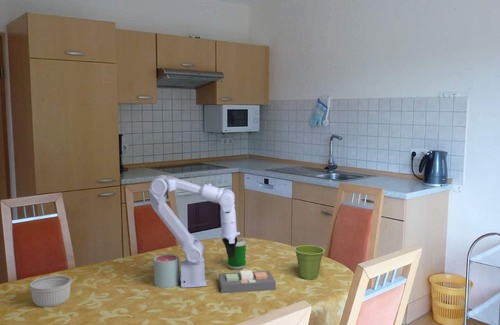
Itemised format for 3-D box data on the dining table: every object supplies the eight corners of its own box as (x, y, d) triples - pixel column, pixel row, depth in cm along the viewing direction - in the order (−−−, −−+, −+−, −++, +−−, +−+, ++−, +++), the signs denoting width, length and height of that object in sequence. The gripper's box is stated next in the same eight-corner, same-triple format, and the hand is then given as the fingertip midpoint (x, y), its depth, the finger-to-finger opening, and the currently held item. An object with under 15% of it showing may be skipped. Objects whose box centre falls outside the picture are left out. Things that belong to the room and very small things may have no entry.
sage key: (226, 287, 170) (226, 278, 169) (225, 283, 174) (225, 274, 174) (238, 286, 170) (238, 277, 170) (237, 282, 175) (237, 273, 174)
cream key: (241, 284, 171) (241, 274, 170) (240, 279, 175) (239, 270, 174) (253, 283, 171) (253, 274, 171) (251, 279, 176) (251, 270, 175)
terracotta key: (256, 285, 172) (256, 276, 171) (254, 281, 176) (254, 272, 175) (267, 284, 172) (267, 275, 172) (265, 280, 177) (265, 271, 176)
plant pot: (309, 284, 174) (310, 255, 173) (287, 276, 183) (288, 248, 182) (330, 277, 182) (330, 249, 180) (308, 269, 191) (308, 243, 189)
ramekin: (60, 290, 168) (59, 272, 168) (79, 299, 160) (78, 280, 159) (23, 301, 158) (22, 282, 157) (42, 312, 150) (41, 292, 149)
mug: (174, 288, 170) (173, 262, 169) (150, 286, 172) (150, 261, 171) (186, 275, 183) (186, 251, 182) (164, 274, 185) (164, 250, 184)
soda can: (245, 270, 189) (245, 242, 188) (227, 270, 189) (227, 242, 188) (246, 264, 196) (246, 237, 195) (228, 264, 197) (228, 237, 195)
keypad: (221, 293, 166) (221, 284, 165) (218, 281, 178) (218, 273, 177) (275, 289, 169) (275, 281, 169) (269, 278, 181) (269, 270, 180)
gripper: (241, 225, 166) (244, 261, 167) (236, 216, 180) (238, 250, 182) (222, 227, 165) (224, 263, 166) (218, 218, 179) (220, 252, 181)
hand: (230, 257), depth 174 cm, fingers closed
